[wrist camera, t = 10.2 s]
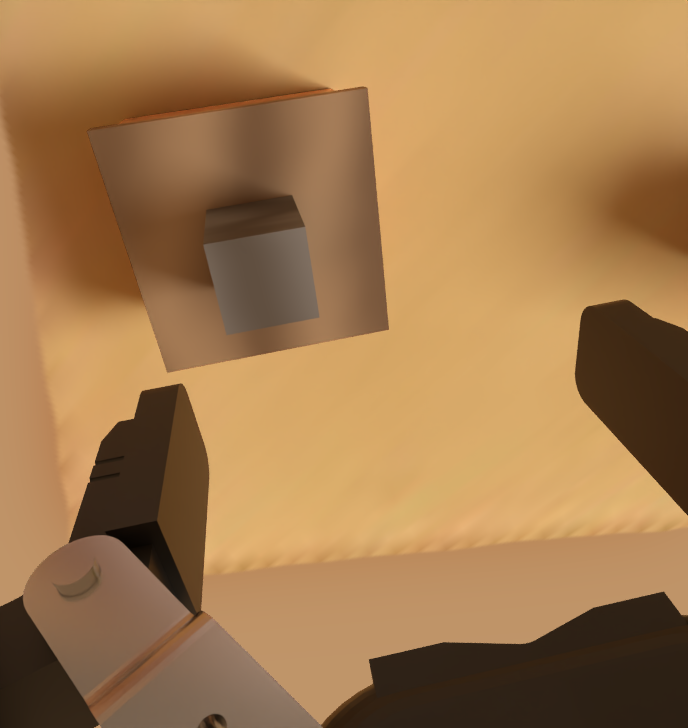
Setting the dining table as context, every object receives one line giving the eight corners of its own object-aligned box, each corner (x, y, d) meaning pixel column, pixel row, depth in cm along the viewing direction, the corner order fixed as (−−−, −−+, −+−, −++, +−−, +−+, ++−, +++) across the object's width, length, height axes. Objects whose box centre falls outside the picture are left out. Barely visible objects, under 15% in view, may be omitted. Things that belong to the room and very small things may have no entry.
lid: (363, 86, 26) (397, 100, 21) (385, 323, 32) (414, 376, 27) (90, 128, 24) (57, 153, 20) (168, 364, 31) (158, 429, 26)
